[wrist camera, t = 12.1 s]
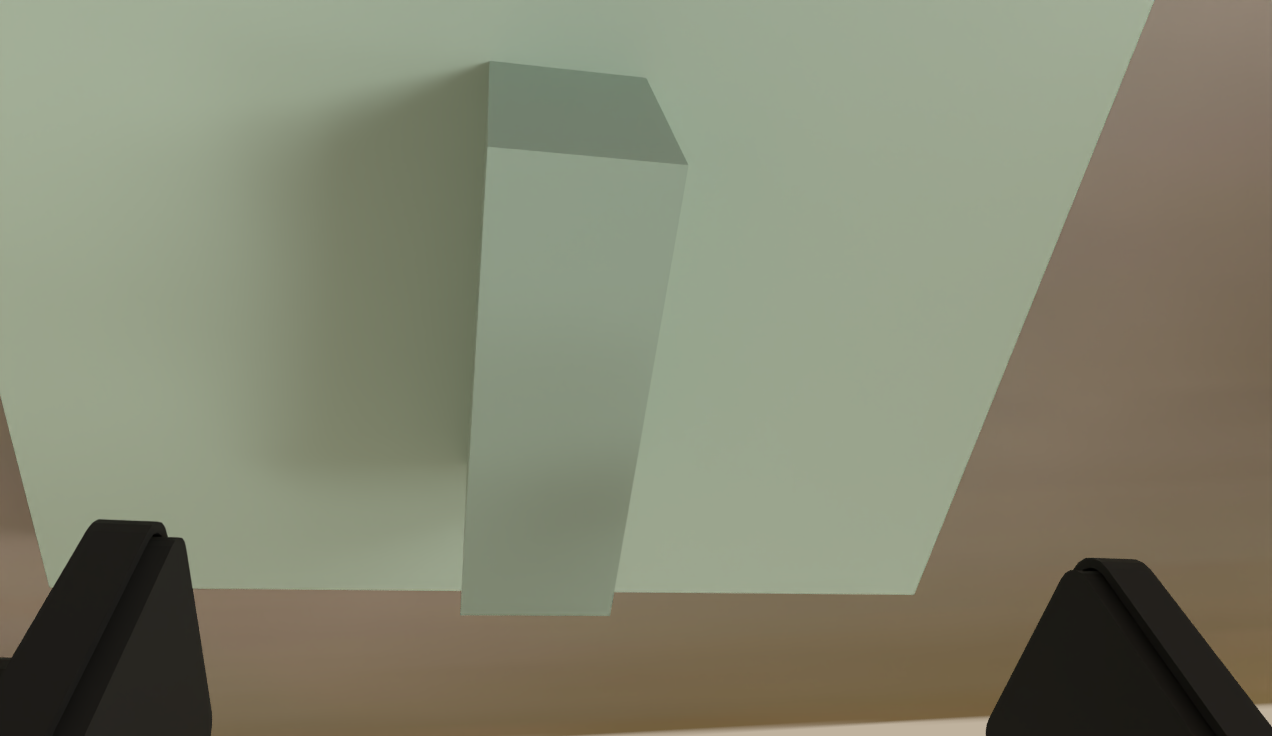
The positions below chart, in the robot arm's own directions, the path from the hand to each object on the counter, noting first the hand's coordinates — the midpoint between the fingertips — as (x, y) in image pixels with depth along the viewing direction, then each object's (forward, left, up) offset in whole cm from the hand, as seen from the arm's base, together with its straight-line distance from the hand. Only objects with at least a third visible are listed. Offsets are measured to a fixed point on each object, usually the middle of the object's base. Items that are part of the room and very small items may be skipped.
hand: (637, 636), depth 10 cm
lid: (+1, 0, -10) cm, 10 cm away
